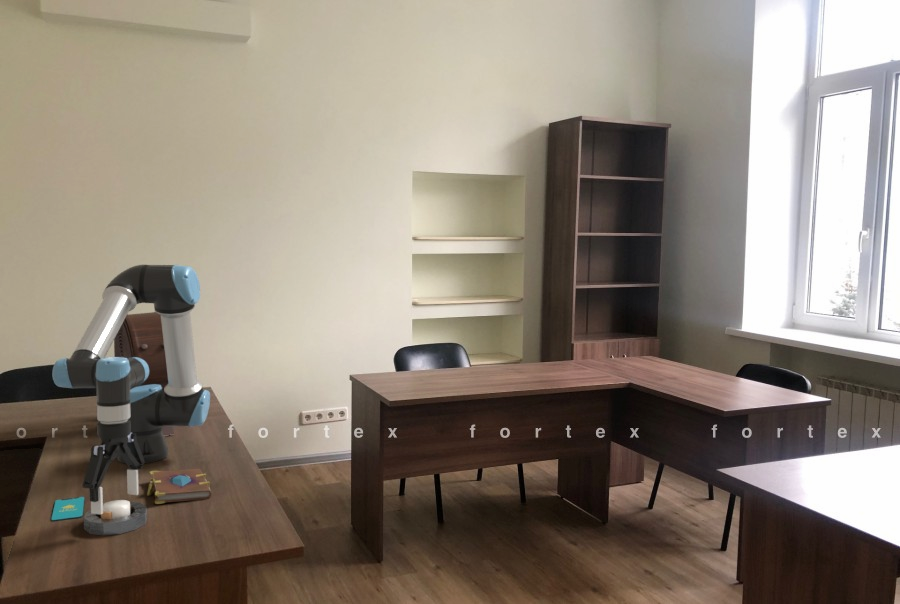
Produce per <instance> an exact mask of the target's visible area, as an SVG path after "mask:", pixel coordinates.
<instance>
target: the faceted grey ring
mask: <svg viewBox="0 0 900 604" xmlns="http://www.w3.org/2000/svg"><path fill="white" fill-rule="evenodd" d="M129 502H130V515H129V516H126V517H122V518H117V519H101V514H92V513H91V509H89V510H87V511H86V512H85V514H84V515H83V530H84V531H85V532H87V533H88V534H90V535H96V536H113V535H121V534H125V533H129V532H133V531H136V530H137V529H140V528H142V527H143V526H144V525H146V523H147V518H148V507H147V506H146V505H145V504H143V503H142V502H138V501H137V502H135V501H129Z"/></svg>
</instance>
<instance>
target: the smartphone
mask: <svg viewBox="0 0 900 604" xmlns="http://www.w3.org/2000/svg"><path fill="white" fill-rule="evenodd" d="M85 499H86V498H85V496H79V497H72V498H71V497H70V498H65V499H64V498H63V499H56V500H55V501H54V504H53V509H52V514H51V519H50V521H51V522H60V521H66V520H74V519H81V518H84V508H85V504H86V503H85Z"/></svg>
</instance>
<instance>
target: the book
mask: <svg viewBox="0 0 900 604" xmlns="http://www.w3.org/2000/svg"><path fill="white" fill-rule="evenodd" d="M202 471H203V470H202V469H201V468H193V469H180V470H163V471H162V470H161V471H160V470H151V471H149V475H150V476H152V478H150V479H149V482H150V483H148V488H147V493H146V496H148V497H149V496H152V495H153V494H154V498H155V499H154V504H156V505H161V504H165V503H175V502H185V501H186V502H187V501H198V500H206V499H210V498H211V497H212V491H211V488H210V486H211V485H210V484H211V482H210V481H207V473H203V472H202Z"/></svg>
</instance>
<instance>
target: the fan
mask: <svg viewBox="0 0 900 604" xmlns="http://www.w3.org/2000/svg"><path fill="white" fill-rule="evenodd" d="M113 346H114V347H113V348H114V349H113V351H114V356H113V357H124V358H132V357H138V358H141V359H143V360H144V361H145V362H146V363H147V364H148V367H149V376H148V378H147V379H146V380H145V381H144V382H143V383H142V384H141V385H139V386H144V385H151V384H157V385H161V387H162V390H164V388H165V386H166V385H167V384H168V375H167V366H166V357H165V349H164V340H163V332H162V323H161V315H159V314H158V313H156V312H155V311H152V312H142V313H141V312H140V313H132V314H131V313H128V314H127V316H126V318H125V320H124V321H123V323H122V325H121V327H120V329H119V331H118V333H117V335H116V337H115V339H114V341H113ZM137 387H138V386H137ZM162 434H163V435H170V434H175V426H162Z"/></svg>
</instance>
